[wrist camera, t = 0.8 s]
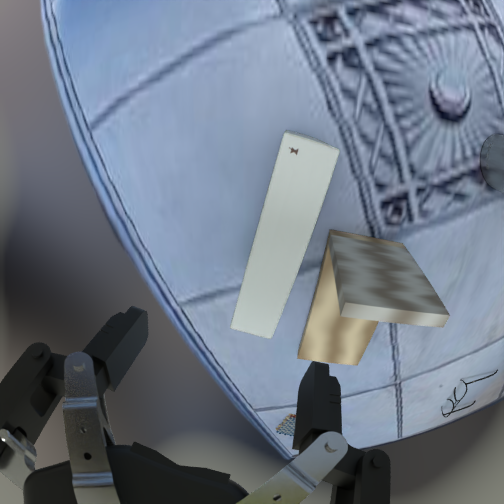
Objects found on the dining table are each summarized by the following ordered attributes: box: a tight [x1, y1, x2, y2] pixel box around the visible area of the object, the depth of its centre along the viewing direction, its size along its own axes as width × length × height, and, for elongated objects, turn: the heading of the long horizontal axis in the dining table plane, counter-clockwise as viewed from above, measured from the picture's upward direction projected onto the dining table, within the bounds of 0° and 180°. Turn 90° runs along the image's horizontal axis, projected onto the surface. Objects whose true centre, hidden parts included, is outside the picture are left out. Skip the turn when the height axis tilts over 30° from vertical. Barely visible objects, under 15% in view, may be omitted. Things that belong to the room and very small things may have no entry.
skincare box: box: [230, 130, 340, 339], centre depth 32 cm, size 21×6×16 cm, turn 166°
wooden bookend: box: [297, 230, 450, 365], centre depth 37 cm, size 12×25×18 cm, turn 174°
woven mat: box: [276, 414, 296, 436], centre depth 63 cm, size 10×11×2 cm
